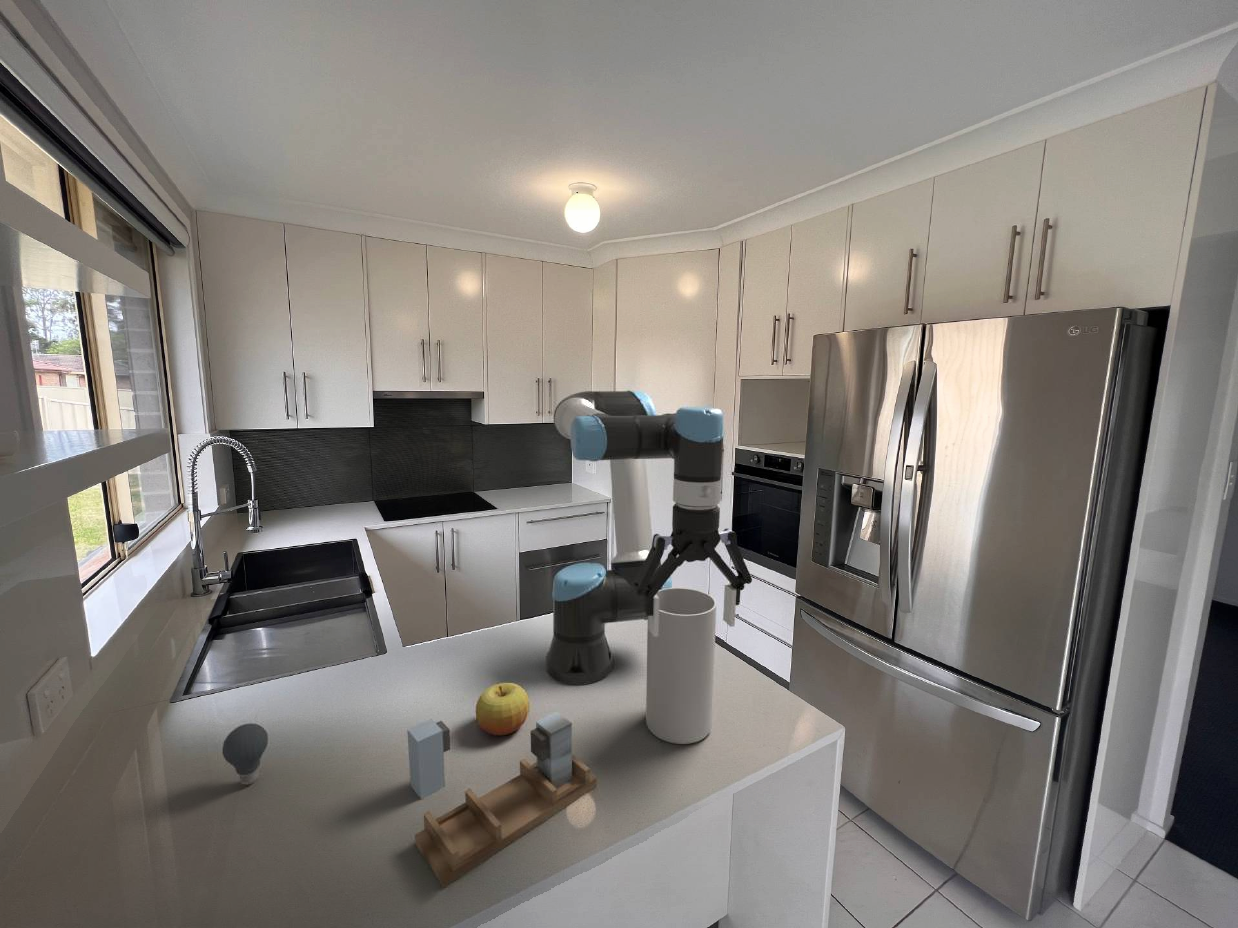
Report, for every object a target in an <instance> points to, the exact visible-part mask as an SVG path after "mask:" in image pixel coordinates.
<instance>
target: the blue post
mask: <svg viewBox="0 0 1238 928" xmlns="http://www.w3.org/2000/svg"><path fill="white" fill-rule="evenodd" d="M450 733H451V731H450V728H449V727H448V726H447V725H446V724H445V723H444V722H443V721H442V720H439V721H437V722H435V721H434V720H433V718H430V719H427V720H425V721H424V722H421V723H419V724H417V725H414V726H411V727H409V728H407V745H408V746H407V748H408V749H407V750H408V764H409V766H408V767H409V777H410V778H409V781H410V786H411V788H412V790H413V791H414V792H415V794H417V796H418V797H419V798H420V800H423V799H424V798H426V797H428V796H430V795H432V794H434V793H436V792H438V791H440V790H441V789H442V790H443V788H445V787H446V779H445V777H446V775H445V759H444V754H445V753H446V752H448V751H450V750H451V737H450V736H451V735H450Z"/></svg>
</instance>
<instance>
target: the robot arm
mask: <svg viewBox="0 0 1238 928" xmlns="http://www.w3.org/2000/svg"><path fill="white" fill-rule="evenodd" d="M656 412H657V411H656V407H655V405H654V402H653V400H652V398H651V397H650V396H649V395H648V394H647V393H645V392H644V391H634V390H624V391H622V390H621V391H619V390H615V391H614V390H610V391H609V390H607V391H606V390H604V391H603V390H602V391H600V390H599V391H594V390H592V391H591V390H588V391H587V390H586V391H579V392H576V393H573V394H571V395H569V396H567V397H565V398H563V399H561V401H560V402H558V404H557V405H556V407H555V409H554V412H553V424H554V427H555V429H556V430H557V431H558V433H559V434H560V435H561V436H562V437H564V438H565V439H568V440H570V448H571V452H572V456H573V457H574V459H576V460H577V461H590V462H598V461H609V464H610V465H609V466H610V481H611V492H612V506H613V520H614V523H613V524H614V536H615V548H616V555H614V557H613V559H612V560H611V561H610V569H607V570H606V568H605V566H604V565H602V563H598V562H590V561H589V562H587V561H586V562H579V563H574V564H571V565H568V566H566V567H563V568H562V569H561V570H559V571H558V572H557V573H556V574H555V575H554V577H553V584H552V592H551V597H552V607H553V608H552V611H553V613H552V614H553V615H552V616H553V617H552V619H553V620H552V621H553V622H552V625H553V626H552V627H553V628H552V629H553V630H552V631H553V632H552V633H553V635H552V639H551V642H550V646H549V650H548V652H547V655H546V658H545V670H546V671H545V672H546V673H547V675H548V676H549V677H550V678H552V679H553V680H555V681H556V682H559V683H563V684H566V685H574V686H575V685H588V684H592V683H595V682H598V681H601V680H603V679H604V678H606V677H607V676H609V675H610V673H611V671H612V670H613V654H612V652H611V649H610V645H609V643H608V640H607V636H606V632H605V631H606V630H605V629H606V624H610V623H611V624H612V623H619V622H631V621H632V622H633V621H640V620H641V621H642V620H644V621H648V616H649V630H650V632H651V633H652V635H653V636H654V637H656V636H658V630H659V597H658V596H657V595H656V594H657V592H658V591H659V590H662V589H667V588H673V585H672V581H673V580H672V575H673V573H674V572H675V571H676V570H677V569H678V567H681V566H682V565H683V564H684V563H685V562H687V563H693V562H696V561H697V562H699V561H700V562H705V561H707V559H708V558H709V559H710V560H711V561H712V563H713V564H714V566H716V568H717V569H718V570H719V571H720V572H721V574H722V575H723V576H724V577H725V578H726V580H728V582H729V583H725V584H724V594H723V613H722V615H723V617H722V618H723V619H722V620H723V621H724V622H725V623H726V624H727V625H728V626H729V627H736V626H735V621H736V606H739V604H740V603H741V591H743V590H744V589H745V586H746V584H747V585H750V584H751V583H752V581H753V578H752V576H751V574H750V571H749V569H748V567H747V564H746V562H745V560H744V557H743V555H742V553H741V551H740V548H739V546H738V536H737V533H736V532H735V531H733V530H731V529H730V528H727V527H726V528H724V529H723V531H719V528H720V520H721V519H720V517H721V516H720V515H721V512H720V511H721V508H720V506H718V505H719V504H720V503H721V493H722V492H721V489H722V465H723V453H724V452H723V451H724V449H723V448H724V437H725V429H724V414H723V412H722V410H721V409H720V408H716V407H709V406H708V407H707V406H683V407H679V408H678V409H677V410H676V412H675V413H670V412H669V413H663V414H661V415H660V414H659V415H657V413H656ZM653 459H654V460H656V459H657V460H658V459H659V460H660V459H671V460H673V484H672V485H673V486H672V487H673V488H672V490H673V491H672V501H673V502H674V504H673V506H672V515H671V516H672V517H671V518H672V522H671V526H672V527H671V528H672V531H671V534H670V535H669V536H667V535H665V536H663V535H661V534H659V533H655V534H653V532H652V519H651V510H650V509H651V508H650V499H649V498H650V497H649V486H648V476H647V475H648V474H647V463H646V462H647V461H646V460H653ZM720 542H722V543H723V544H724V547H725V549H726V552H727V553H728V555H729V557H730V560H731V562H732V565H733V567H734V569H735V571H736V573H737V575H736V574H735V573H734V571H732V569H731V568H730V567H729V565H728V564H727V563H726V562H725V561H724V559H723V557H722V556H721V555H720V554H719V553H718V552H717V550H716V548H717V546H718V545H719V543H720ZM669 545H671V547H672V549H671V550H670V551H669V552H668V554H667V557H666V559H664V561H663V563H662V561H661V560H662V557H663V556H664V551H666V550H668V548H669Z"/></svg>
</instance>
